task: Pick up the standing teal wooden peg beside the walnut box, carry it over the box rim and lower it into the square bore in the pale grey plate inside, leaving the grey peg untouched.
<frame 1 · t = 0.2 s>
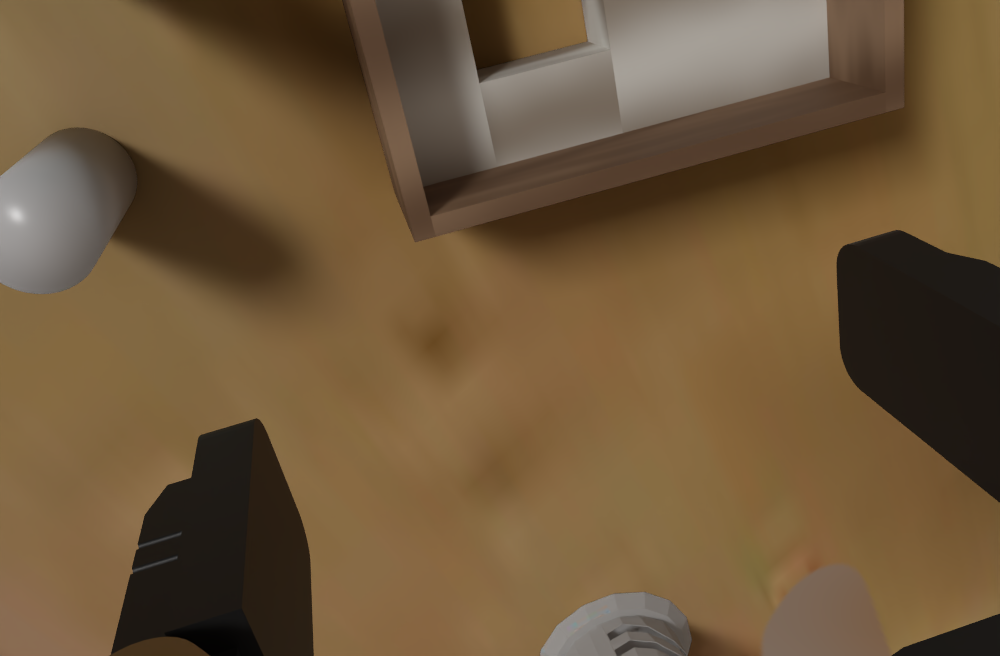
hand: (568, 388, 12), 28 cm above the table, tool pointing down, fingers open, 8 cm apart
grey peg: (84, 176, 36), on the table
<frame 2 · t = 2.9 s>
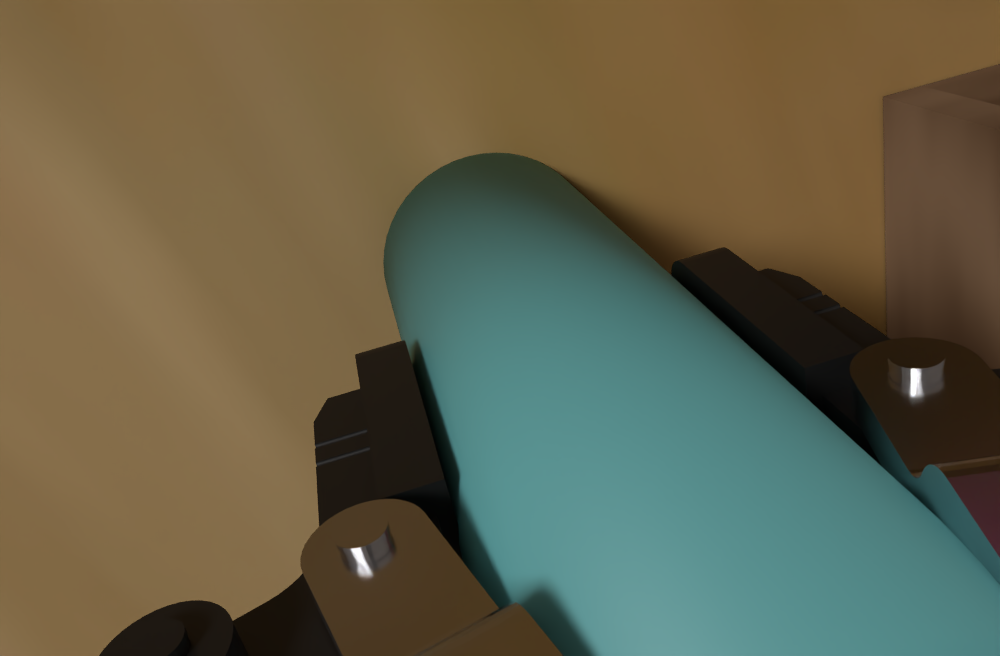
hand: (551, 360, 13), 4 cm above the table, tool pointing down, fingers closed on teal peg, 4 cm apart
teal peg: (491, 259, 16), on the table, touching gripper
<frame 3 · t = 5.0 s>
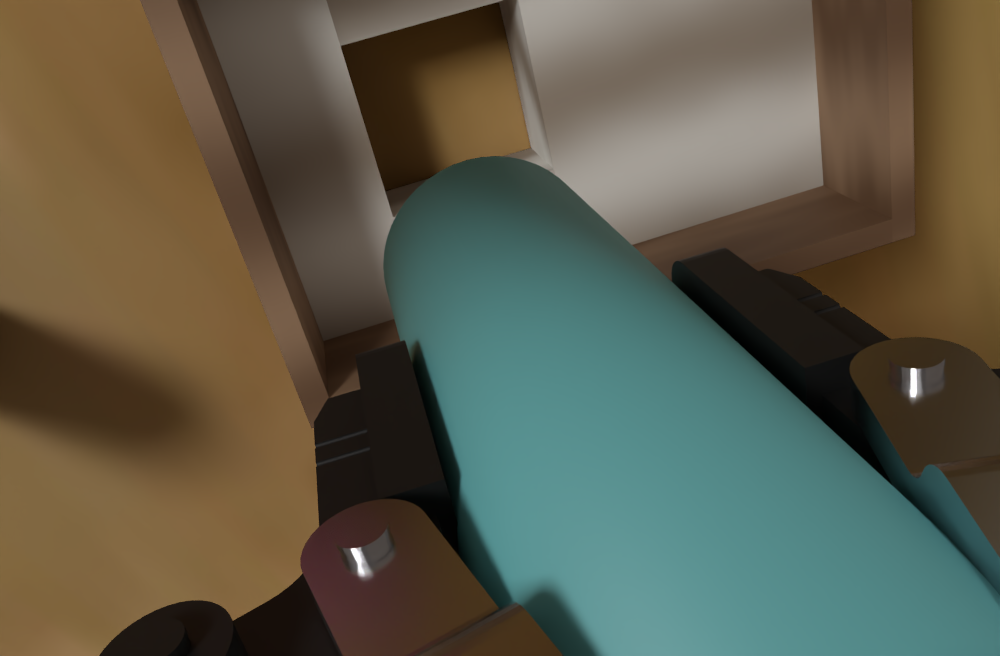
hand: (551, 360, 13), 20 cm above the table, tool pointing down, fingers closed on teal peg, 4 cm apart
peg box: (521, 69, 30), on the table
teal peg: (490, 262, 16), point 15 cm above the table, touching gripper
when the fingers open (6 cm above the table, at t = 7.2 s): teal peg drops 2 cm, resting in peg box.
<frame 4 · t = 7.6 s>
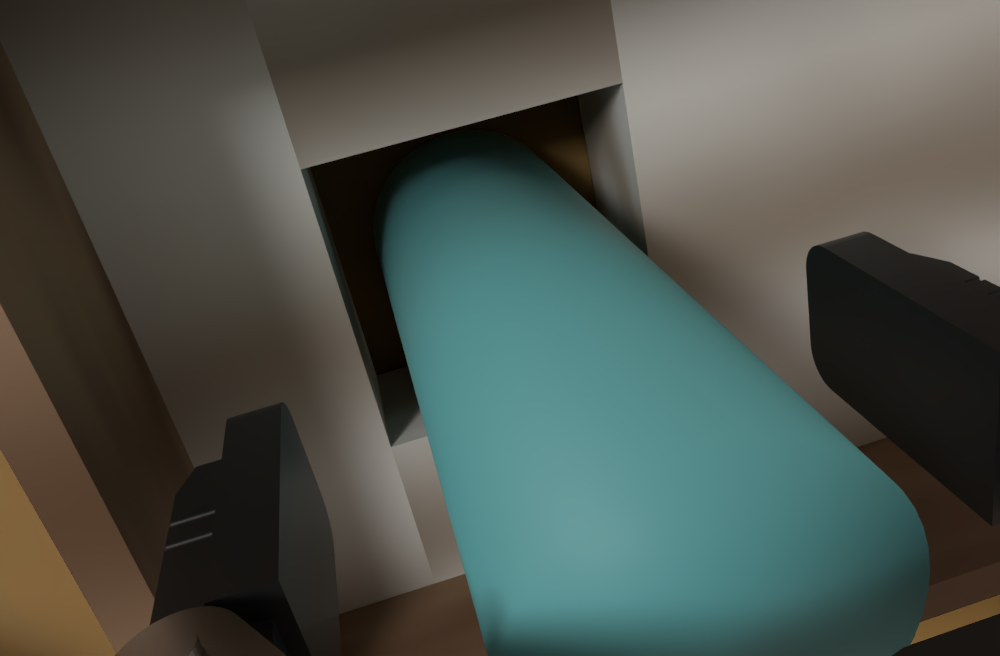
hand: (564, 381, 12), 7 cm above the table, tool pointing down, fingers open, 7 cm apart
peg box: (605, 187, 19), on the table
teal peg: (469, 226, 18), resting in peg box
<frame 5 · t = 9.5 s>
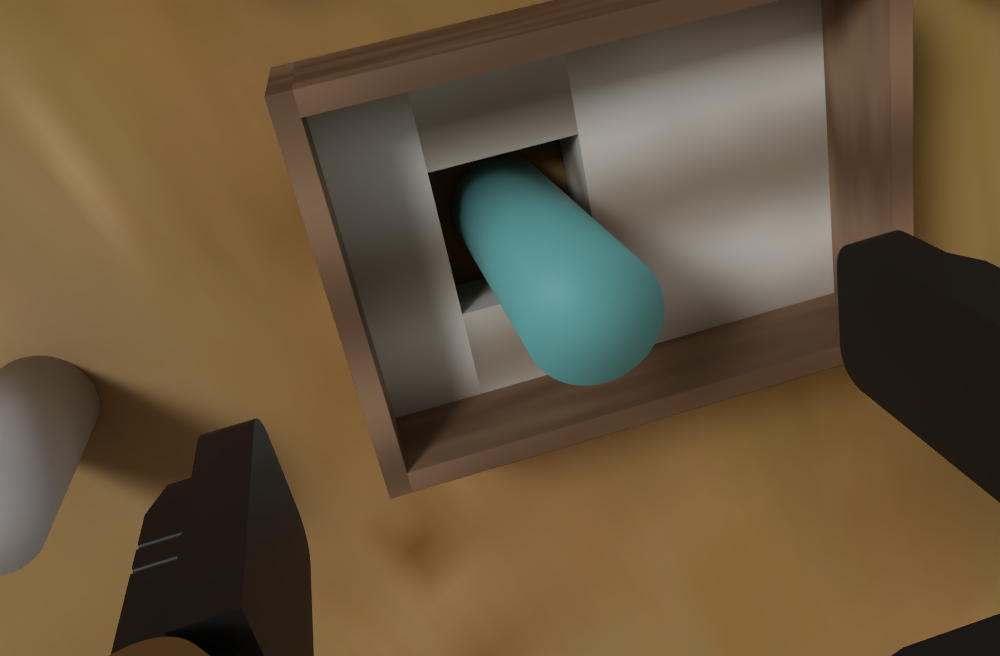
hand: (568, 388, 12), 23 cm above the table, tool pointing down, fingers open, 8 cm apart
grey peg: (43, 403, 34), on the table
peg box: (573, 186, 35), on the table
teal peg: (501, 206, 35), resting in peg box
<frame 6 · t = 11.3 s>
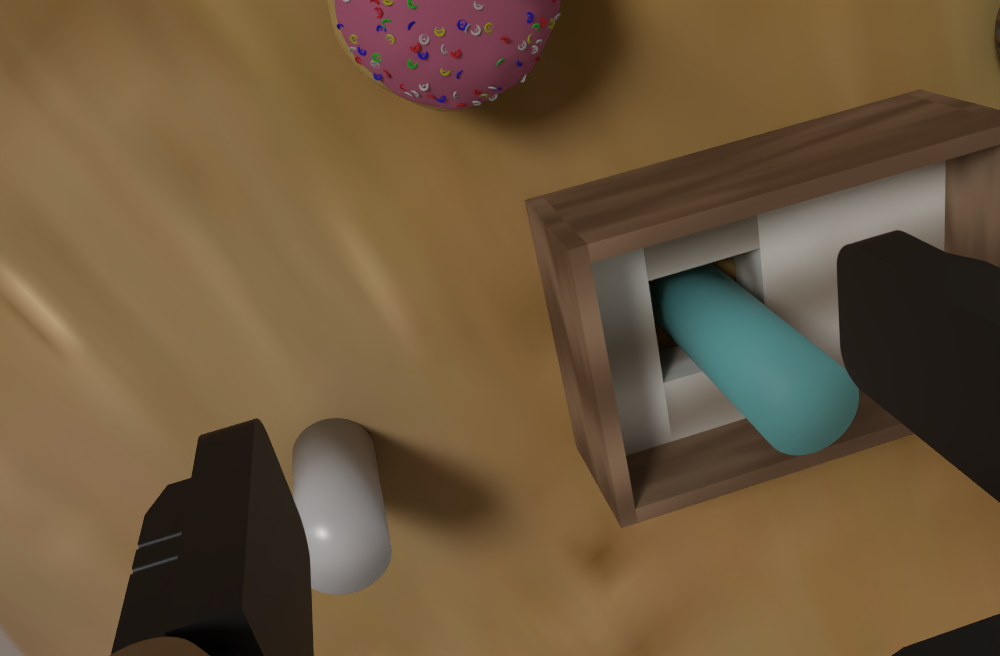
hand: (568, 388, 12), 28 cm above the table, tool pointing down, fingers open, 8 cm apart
grey peg: (333, 453, 44), on the table
peg box: (740, 277, 45), on the table
teal peg: (685, 293, 44), resting in peg box
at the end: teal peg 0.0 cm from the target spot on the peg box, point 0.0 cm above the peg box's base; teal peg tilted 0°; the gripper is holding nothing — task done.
